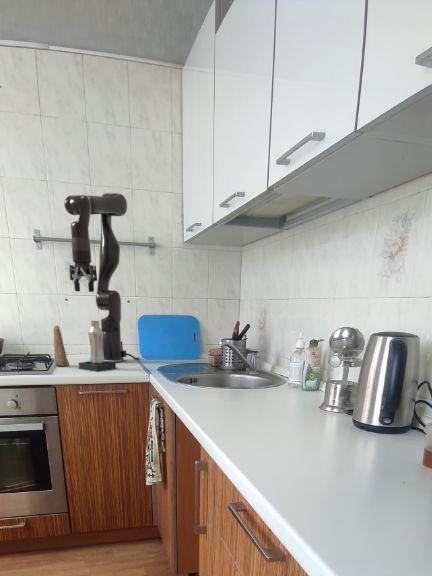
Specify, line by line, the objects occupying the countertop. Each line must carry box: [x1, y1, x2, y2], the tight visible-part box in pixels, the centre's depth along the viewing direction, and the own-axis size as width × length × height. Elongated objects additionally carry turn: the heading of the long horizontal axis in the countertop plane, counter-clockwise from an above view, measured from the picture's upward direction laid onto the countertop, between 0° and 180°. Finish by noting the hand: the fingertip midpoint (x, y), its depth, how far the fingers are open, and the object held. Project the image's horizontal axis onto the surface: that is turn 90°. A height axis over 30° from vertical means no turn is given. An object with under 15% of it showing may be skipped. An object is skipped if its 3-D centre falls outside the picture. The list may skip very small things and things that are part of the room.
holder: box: [78, 360, 117, 372], centre depth 212 cm, size 12×12×3 cm
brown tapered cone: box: [53, 325, 70, 367], centre depth 213 cm, size 6×18×6 cm
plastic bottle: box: [88, 320, 105, 365], centre depth 208 cm, size 6×7×20 cm
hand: (84, 291), depth 202 cm, fingers open, 8 cm apart
